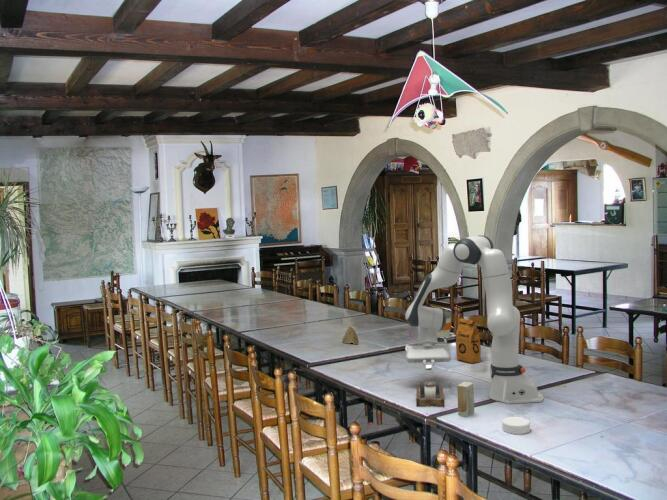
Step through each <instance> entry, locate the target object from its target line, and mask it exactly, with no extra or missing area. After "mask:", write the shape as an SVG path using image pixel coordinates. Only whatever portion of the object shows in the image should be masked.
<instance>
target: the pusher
mask: <svg viewBox="0 0 667 500" xmlns="http://www.w3.org/2000/svg"><path fill="white" fill-rule="evenodd" d="M424 382H427V380H426V381H422V380H421V381H419V391H420V399H425V388H424ZM434 382H435V383H436V386H435V387H436V399H441V397H440V387H441V385H440V381H434Z"/></svg>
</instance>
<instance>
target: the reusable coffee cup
mask: <svg viewBox="0 0 667 500" xmlns="http://www.w3.org/2000/svg"><path fill="white" fill-rule="evenodd" d="M443 311H444V313H445V315H446V325H445V327H444V328H443V329H442V330H440V331H439V332H437V333H436V335H437V337H448V338H450V336H451V335H450V333H451V329H452V318H453V316H452V312H451V311H449V310H443Z"/></svg>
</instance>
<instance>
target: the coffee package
mask: <svg viewBox="0 0 667 500" xmlns="http://www.w3.org/2000/svg"><path fill="white" fill-rule="evenodd" d="M458 322H459V323H458V326H457V329H456V332H455V348H456V349H455V350H456V360H459V361H463V362H466V363H469V364H477V363H481V362H482V356H481V352H482V351H481V349H482V347H481V339H480V333H479V330H478V327H477V324H476V322H475V320H472V319H466V318H459V319H458Z"/></svg>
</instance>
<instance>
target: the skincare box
mask: <svg viewBox="0 0 667 500" xmlns="http://www.w3.org/2000/svg"><path fill="white" fill-rule="evenodd" d="M474 386H475V385H474V382H470V381H469V382H468V381H462V382H460V383H458V384H457V387H456V388H457V393H456V394H457V415H458V416H462V417H469V416H471V415H472V414H474V413H475V391H474Z"/></svg>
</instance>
